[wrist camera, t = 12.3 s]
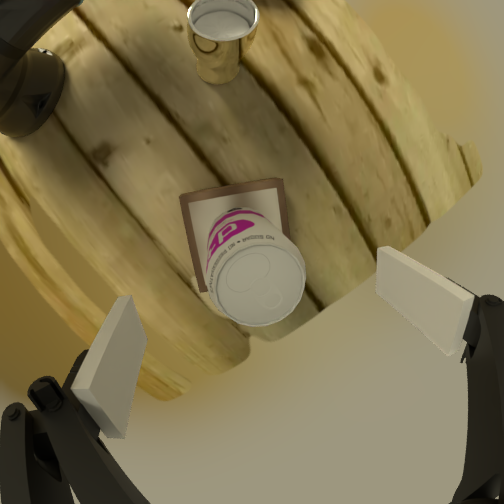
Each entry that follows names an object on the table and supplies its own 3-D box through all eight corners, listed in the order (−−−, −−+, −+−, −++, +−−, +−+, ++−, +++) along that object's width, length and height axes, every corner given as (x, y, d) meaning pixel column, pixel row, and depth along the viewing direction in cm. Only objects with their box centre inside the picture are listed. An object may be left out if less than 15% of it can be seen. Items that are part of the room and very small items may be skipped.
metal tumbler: (239, 43, 31) (255, -13, 17) (246, 84, 33) (267, 39, 19) (190, 50, 30) (182, -6, 16) (196, 91, 32) (188, 48, 18)
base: (200, 281, 41) (199, 293, 37) (182, 193, 36) (178, 197, 32) (286, 264, 42) (294, 275, 38) (275, 177, 38) (283, 179, 34)
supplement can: (194, 235, 34) (183, 284, 20) (245, 192, 34) (271, 211, 19) (235, 281, 37) (251, 349, 23) (284, 241, 36) (330, 289, 22)
